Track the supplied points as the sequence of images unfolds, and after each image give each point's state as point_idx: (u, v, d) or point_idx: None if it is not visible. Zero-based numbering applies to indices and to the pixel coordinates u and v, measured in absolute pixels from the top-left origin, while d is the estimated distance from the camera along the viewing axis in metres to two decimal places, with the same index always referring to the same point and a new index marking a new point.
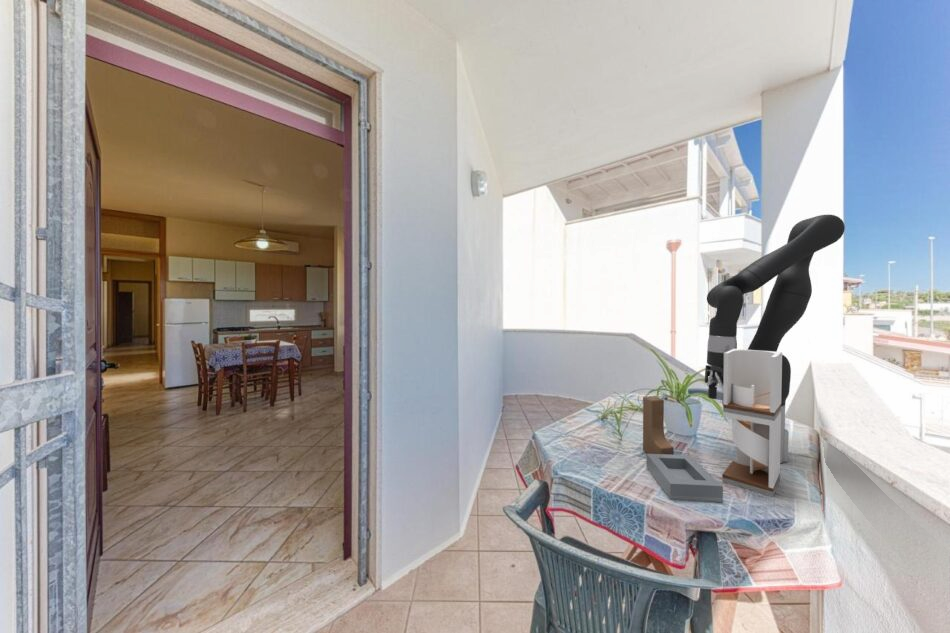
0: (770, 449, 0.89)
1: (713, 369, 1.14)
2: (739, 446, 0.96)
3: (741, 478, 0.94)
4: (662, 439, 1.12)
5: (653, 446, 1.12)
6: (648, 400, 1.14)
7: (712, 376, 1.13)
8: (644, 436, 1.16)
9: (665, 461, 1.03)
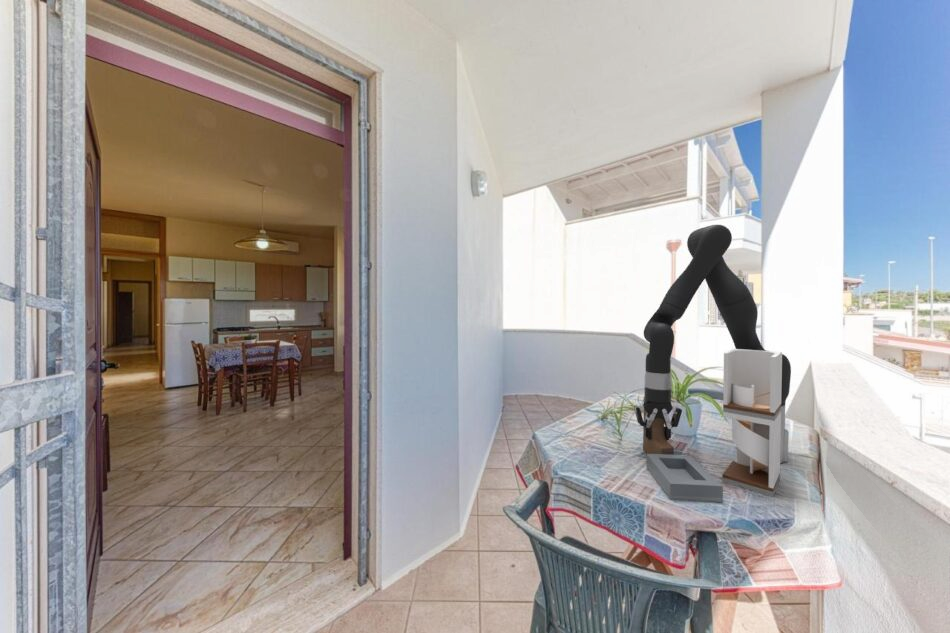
0: (770, 449, 0.89)
1: (651, 406, 1.12)
2: (739, 446, 0.96)
3: (741, 478, 0.94)
4: (662, 439, 1.12)
5: (653, 445, 1.12)
6: None
7: None
8: (644, 436, 1.16)
9: (665, 461, 1.03)
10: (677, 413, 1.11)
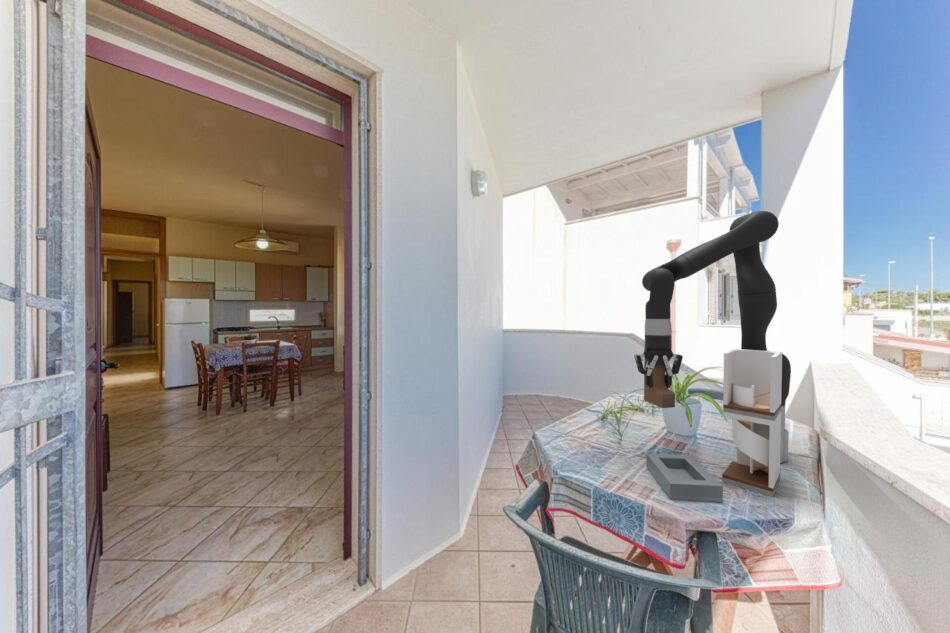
0: (770, 449, 0.89)
1: (652, 354, 1.11)
2: (739, 446, 0.96)
3: (741, 478, 0.94)
4: (663, 387, 1.12)
5: (654, 393, 1.11)
6: None
7: None
8: (645, 385, 1.16)
9: (665, 461, 1.03)
10: (678, 360, 1.10)
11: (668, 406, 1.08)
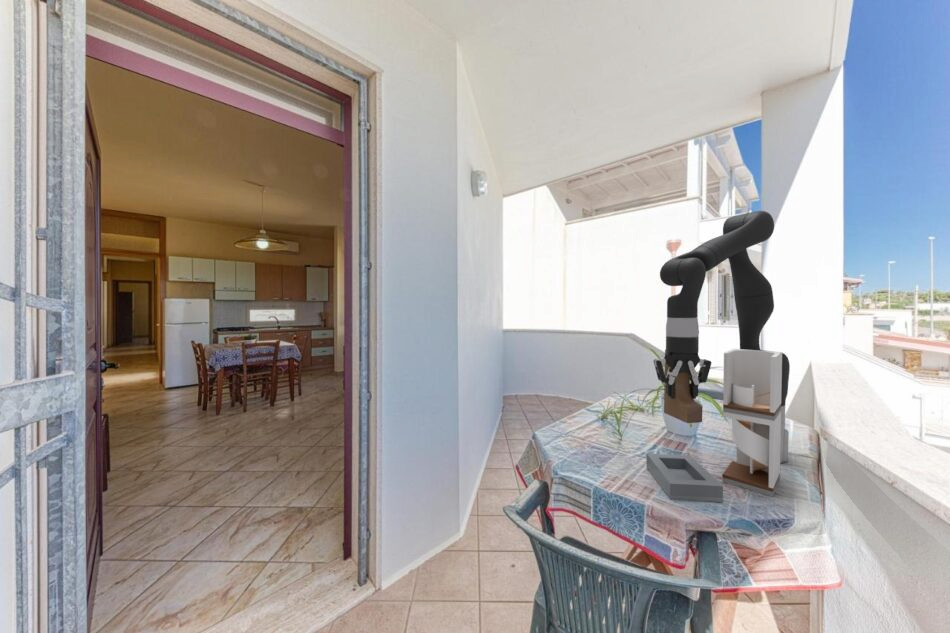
0: (770, 449, 0.89)
1: (675, 359, 0.94)
2: (739, 446, 0.96)
3: (741, 478, 0.94)
4: (688, 398, 0.95)
5: (677, 405, 0.95)
6: None
7: None
8: (666, 395, 0.99)
9: (665, 461, 1.03)
10: (706, 366, 0.93)
11: (694, 421, 0.92)
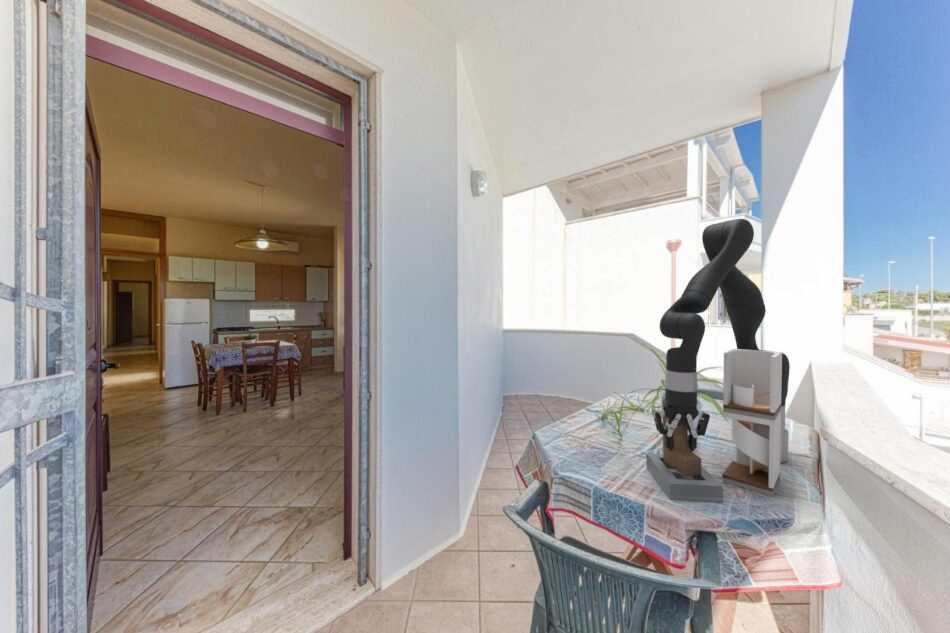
0: (770, 449, 0.89)
1: (674, 411, 0.95)
2: (739, 446, 0.96)
3: (741, 478, 0.94)
4: (686, 449, 0.96)
5: (676, 457, 0.95)
6: None
7: None
8: (665, 446, 1.00)
9: None
10: (704, 419, 0.94)
11: (693, 474, 0.92)
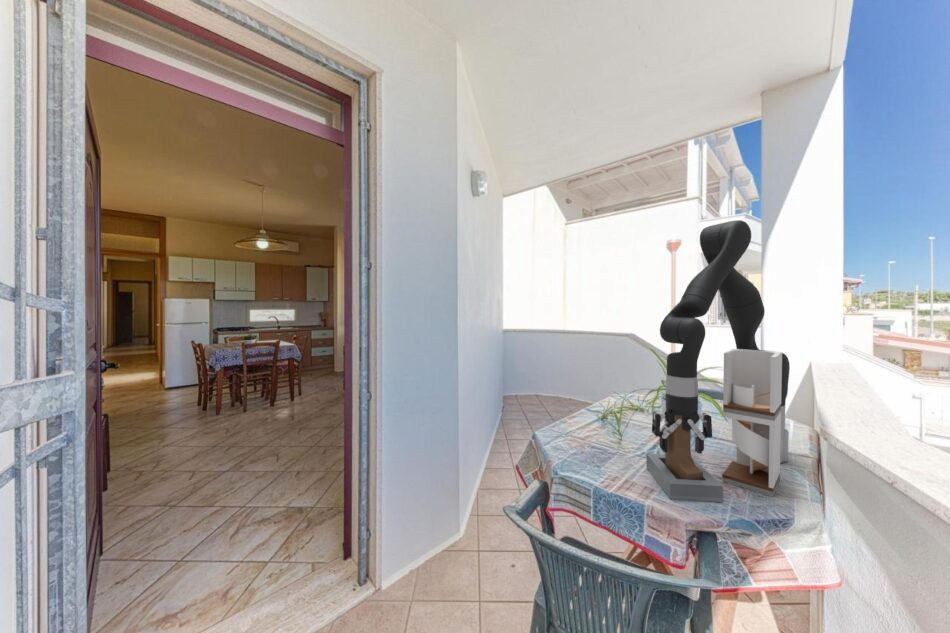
0: (770, 449, 0.89)
1: None
2: (739, 446, 0.96)
3: (741, 478, 0.94)
4: (689, 462, 0.94)
5: (678, 469, 0.94)
6: None
7: None
8: (667, 457, 0.99)
9: None
10: (707, 421, 0.94)
11: None
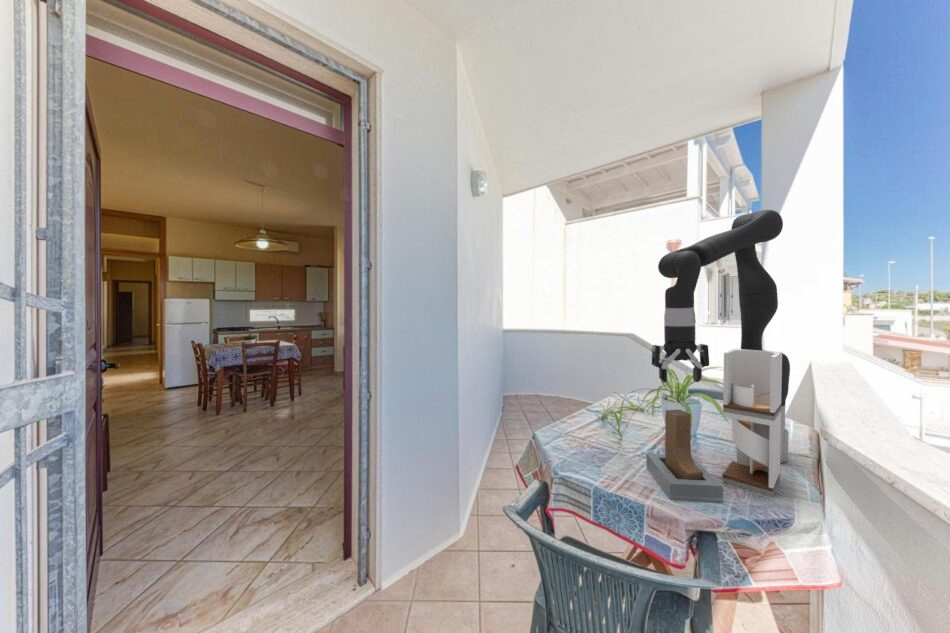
0: (770, 449, 0.89)
1: (673, 347, 0.99)
2: (739, 446, 0.96)
3: (741, 478, 0.94)
4: (689, 462, 0.94)
5: (678, 469, 0.94)
6: (672, 415, 0.96)
7: None
8: (667, 457, 0.99)
9: None
10: (704, 350, 0.98)
11: None
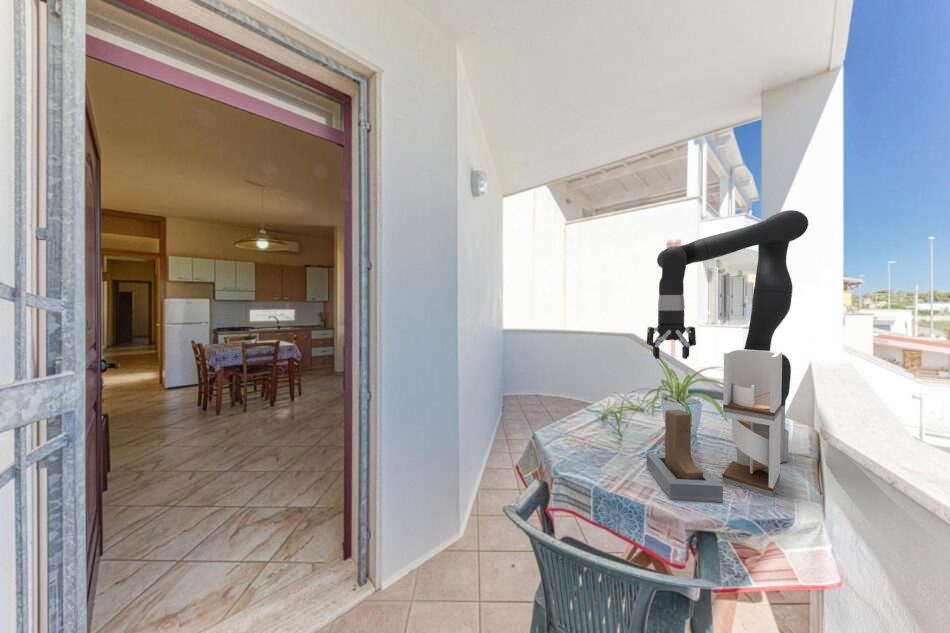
0: (770, 449, 0.89)
1: (665, 329, 1.16)
2: (739, 446, 0.96)
3: (741, 478, 0.94)
4: (689, 462, 0.94)
5: (678, 469, 0.94)
6: (672, 415, 0.96)
7: None
8: (667, 457, 0.99)
9: None
10: (691, 332, 1.15)
11: None
